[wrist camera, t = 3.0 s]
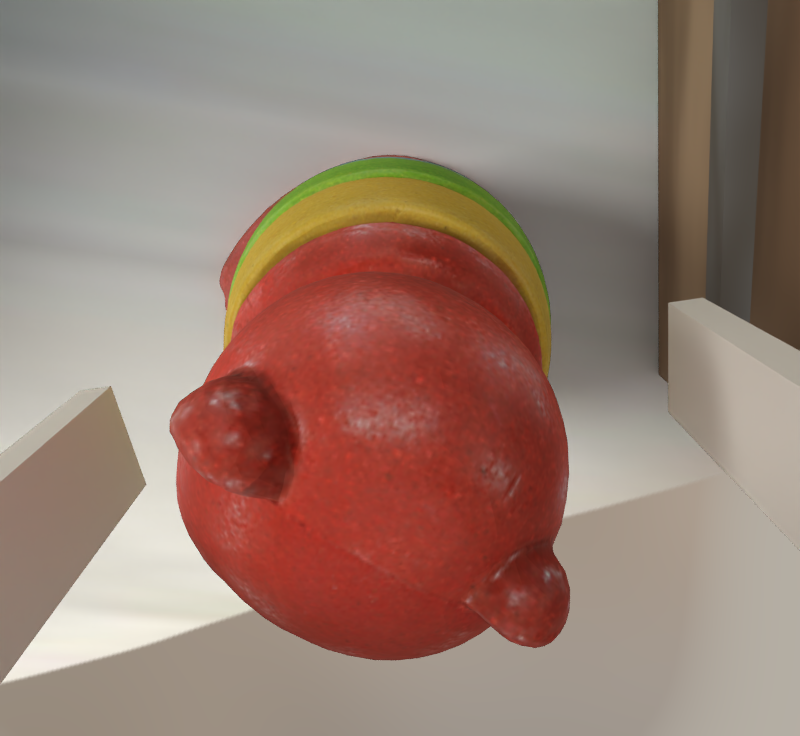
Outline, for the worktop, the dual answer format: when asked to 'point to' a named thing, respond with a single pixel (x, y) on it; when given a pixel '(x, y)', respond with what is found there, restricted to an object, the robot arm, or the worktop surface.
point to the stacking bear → (382, 419)
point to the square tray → (730, 161)
